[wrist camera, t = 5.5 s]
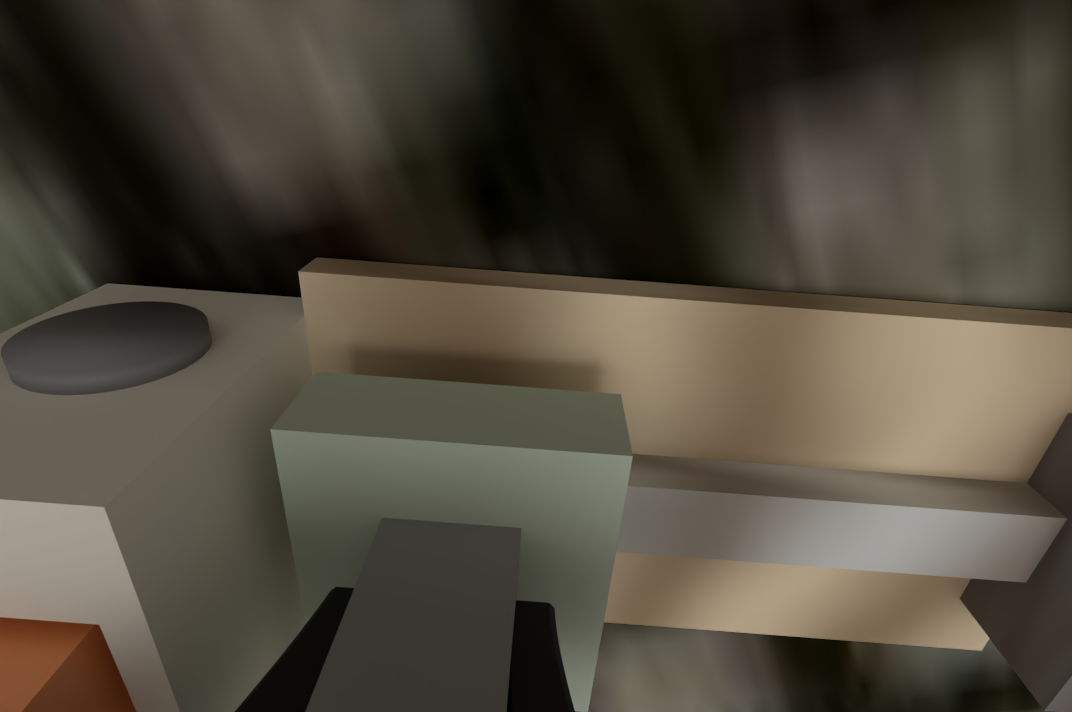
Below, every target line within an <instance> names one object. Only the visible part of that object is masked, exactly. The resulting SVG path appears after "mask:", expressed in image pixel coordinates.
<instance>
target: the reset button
mask: <svg viewBox="0 0 1072 712" xmlns="http://www.w3.org/2000/svg"><path fill="white" fill-rule="evenodd" d="M0 712H136V710H135V707H134V705H133V703H132V700H131V698H130V696H129V693H128V691H127V689H126V686H125V684H124V682H123V679H122V677H121V675H120V672H119V670H118V668H117V665H116V663H115V661H114V658H113V656H112V654H111V651H110V649H109V647H108V644H107V642H106V640H105V637H104V635H103V633H102V630H101V628H100V626H99V625H97V624H84V623H71V622H58V621H44V620H31V619H18V618H5V617H0Z"/></svg>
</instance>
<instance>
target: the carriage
mask: <svg viewBox="0 0 1072 712" xmlns="http://www.w3.org/2000/svg"><path fill="white" fill-rule="evenodd" d="M270 431H271V436H272V442H273V447H274V453H275V458H276V464H277V469H278V475H279V480H280V486H281V491H282V497H283V502H284V508H285V513H286V519H287V524H288V530H289V536H290V541H291V547H292V552H293V558H294V563H295V569H296V574H297V580H298V585H299V591H300V596H301V602H302V607H303V613H304V618H305V624H306V623H307V622H308V620H309V619H310V618H311V616H312V615H313V614H314V612H315V611H316V610H317V608H318V607H319V606H320V604H321V603H322V602H323V600H324V599H325V598H326V596H327V595H328V593H329V592H330V591H331V590H332V589H334V588H335V587H347V588H354V590H353V593H352V595H351V598H350V600H349V603H348V605H347V608H346V610H345V613H344V615H343V618H342V620H341V623H340V625H339V628H338V630H337V633H336V635H335V638H334V641H333V643H332V646H331V648H330V651H329V653H328V656H327V658H326V661H325V663H324V666H323V668H322V671H321V673H320V676H319V678H318V681H317V683H316V686H315V688H314V691H313V694H312V696H311V699H310V701H309V704H308V706H307V709H306V711H305V712H507V709H508V694H509V679H510V664H511V651H512V640H513V628H514V616H515V604H516V600H520V601H534V602H547V603H550V604H551V605H552V606H553V607H554V608H555V620H556V628H557V635H558V641H559V647H560V652H561V657H562V661H563V666H564V670H565V674H566V679H567V683H568V687H569V691H570V695H571V699H572V703H573V706H574V710H575V711H581V712H588V708H589V702H590V697H591V691H592V685H593V680H594V674H595V668H596V663H597V657H598V651H599V646H600V640H601V634H602V628H603V623H604V617H605V611H606V606H607V600H608V594H609V589H610V583H611V577H612V572H613V566H614V560H615V555H616V549H617V543H618V538H619V532H620V526H621V521H622V515H623V509H624V503H625V498H626V492H627V486H628V481H629V475H630V469H631V464H632V458H633V455H632V449H631V444H630V439H629V434H628V429H627V423H626V418H625V413H624V408H623V403H622V397H621V394H612V393H599V392H585V391H572V390H558V389H545V388H531V387H518V386H504V385H491V384H477V383H464V382H450V381H437V380H423V379H410V378H396V377H383V376H369V375H356V374H342V373H329V372H316V373H315V375H314V376H313V377H312V378H311V379H310V381H309V382H308V383H307V384H306V386H305V387H304V388H303V389H302V391H301V392H300V393H299V394H298V396H297V397H296V398H295V399H294V401H293V402H292V403H291V404H290V405H289V407H288V408H287V409H286V410H285V412H284V413H283V414H282V415H281V417H280V418H279V419H278V420H277V422H276V423H275V424H274V425H273V427H272V428H271V429H270Z"/></svg>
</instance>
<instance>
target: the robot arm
mask: <svg viewBox="0 0 1072 712" xmlns="http://www.w3.org/2000/svg"><path fill="white" fill-rule="evenodd" d="M353 590H354V588H347V587H335V588H334V589H332V590H331V591H330V592H329V593H328V595H327V596H326V598H325V599H324V600H323V602H322V603H321V604H320V606H319V607H318V608H317V610H316V611H315V612H314V614H313V615H312V616H311V618H310V619H309V620H308V622H307V623H306V624H305V626H304V627H303V628H302V630H301V631H300V632H299V634H298V635H297V636H296V637H295V639H294V640H293V641H292V642H291V644H290V645H289V646H288V648H287V649H286V650H285V651H284V653H283V654H282V655H281V656H280V658H279V659H278V660H277V661H276V663H275V664H274V665H273V666H272V668H271V669H270V670H269V671H268V672H267V673H266V675H265V676H264V677H263V678H262V679H261V681H260V682H259V683H258V684H257V685H256V687H255V688H254V689H253V690H252V691H251V693H250V694H249V695H248V696H247V697H246V699H245V700H244V701H243V702H242V703H241V705H240V706H239V707H238V708H237V709H236V710H235V712H305V711H306V709H307V706H308V704H309V701H310V699H311V696H312V694H313V691H314V688H315V686H316V683H317V681H318V678H319V676H320V673H321V671H322V668H323V666H324V663H325V661H326V658H327V656H328V653H329V651H330V648H331V646H332V643H333V641H334V638H335V635H336V633H337V630H338V628H339V625H340V623H341V620H342V618H343V615H344V613H345V610H346V608H347V605H348V603H349V600H350V598H351V595H352V593H353ZM507 712H575V710H574V706H573V703H572V699H571V695H570V691H569V687H568V683H567V679H566V674H565V670H564V666H563V661H562V657H561V652H560V647H559V641H558V635H557V628H556V620H555V608H554V607H553V606H552V605H551V604H550V603H547V602H534V601H520V600H516V604H515V616H514V628H513V640H512V651H511V664H510V679H509V694H508V709H507Z"/></svg>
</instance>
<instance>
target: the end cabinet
mask: <svg viewBox="0 0 1072 712" xmlns="http://www.w3.org/2000/svg"><path fill="white" fill-rule="evenodd" d="M311 378H312V371H311V363H310V356H309V348H308V341H307V333H306V326H305V318H304V311H303V303H302V298H300V297H287V296H273V295H259V294H246V293H232V292H219V291H205V290H192V289H178V288H164V287H151V286H137V285H124V284H110V283H107V284H105V285H103V286H101V287H99V288H97V289H95V290H92V291H90V292H88V293H86V294H84V295H82V296H80V297H78V298H75V299H73V300H71V301H69V302H67V303H65V304H63V305H60V306H58V307H56V308H54V309H52V310H50V311H48V312H46V313H43V314H41V315H39V316H37V317H35V318H33V319H31V320H28V321H26V322H24V323H22V324H20V325H18V326H16V327H14V328H11V329H9V330H7V331H5V332H3V333H1V334H0V617H5V618H18V619H31V620H44V621H58V622H71V623H84V624H97V625H99V626H100V628H101V630H102V633H103V635H104V637H105V640H106V642H107V644H108V647H109V649H110V651H111V654H112V656H113V658H114V661H115V663H116V665H117V668H118V670H119V672H120V675H121V677H122V679H123V682H124V684H125V686H126V689H127V691H128V693H129V696H130V698H131V700H132V703H133V705H134V707H135V710H136V712H235V710H236V709H237V708H238V707H239V706H240V705H241V703H242V702H243V701H244V700H245V699H246V697H247V696H248V695H249V694H250V693H251V691H252V690H253V689H254V688H255V687H256V685H257V684H258V683H259V682H260V681H261V679H262V678H263V677H264V676H265V675H266V673H267V672H268V671H269V670H270V669H271V668H272V666H273V665H274V664H275V663H276V661H277V660H278V659H279V658H280V656H281V655H282V654H283V653H284V651H285V650H286V649H287V648H288V646H289V645H290V644H291V642H292V641H293V640H294V639H295V637H296V636H297V635H298V634H299V632H300V631H301V630H302V628H303V627H304V626H305V618H304V613H303V607H302V602H301V596H300V591H299V585H298V580H297V574H296V569H295V563H294V558H293V552H292V547H291V541H290V536H289V530H288V524H287V519H286V513H285V508H284V502H283V497H282V491H281V486H280V480H279V475H278V469H277V464H276V458H275V453H274V447H273V442H272V436H271V431H270V429H271V428H272V427H273V425H274V424H275V423H276V422H277V420H278V419H279V418H280V417H281V415H282V414H283V413H284V412H285V410H286V409H287V408H288V407H289V405H290V404H291V403H292V402H293V401H294V399H295V398H296V397H297V396H298V394H299V393H300V392H301V391H302V389H303V388H304V387H305V386H306V384H307V383H308V382H309V381H310V379H311Z"/></svg>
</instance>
